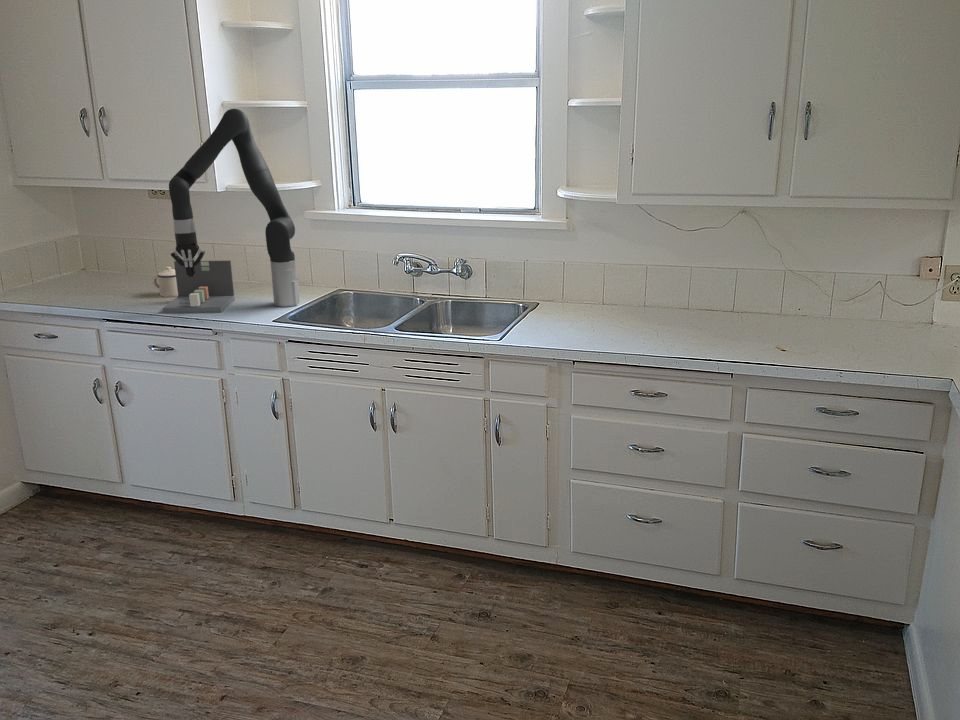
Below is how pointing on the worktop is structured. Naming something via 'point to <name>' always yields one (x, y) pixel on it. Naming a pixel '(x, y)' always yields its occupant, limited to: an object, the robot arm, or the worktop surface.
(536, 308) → the worktop surface
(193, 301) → the cream slider
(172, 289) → the teacup with lid
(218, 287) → the switch unit
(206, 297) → the terracotta slider
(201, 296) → the sage slider
